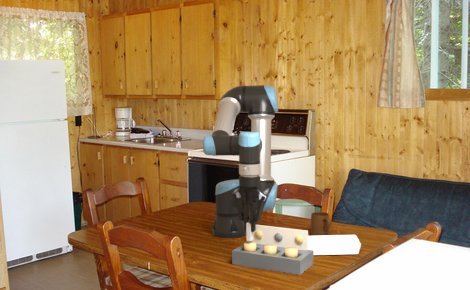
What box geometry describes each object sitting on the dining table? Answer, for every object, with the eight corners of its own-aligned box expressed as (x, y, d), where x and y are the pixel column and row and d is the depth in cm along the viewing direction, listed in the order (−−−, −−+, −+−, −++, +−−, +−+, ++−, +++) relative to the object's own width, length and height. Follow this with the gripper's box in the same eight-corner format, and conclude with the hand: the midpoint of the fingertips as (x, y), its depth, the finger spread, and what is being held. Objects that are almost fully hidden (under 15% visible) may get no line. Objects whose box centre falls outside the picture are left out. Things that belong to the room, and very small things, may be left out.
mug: (337, 239, 224) (338, 217, 223) (322, 241, 222) (322, 218, 221) (323, 232, 235) (323, 211, 235) (307, 234, 233) (307, 212, 232)
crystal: (301, 248, 199) (365, 246, 200) (298, 234, 205) (360, 233, 206) (299, 262, 203) (362, 260, 204) (296, 248, 209) (357, 246, 210)
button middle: (262, 257, 190) (262, 246, 189) (267, 254, 194) (267, 243, 193) (273, 259, 188) (273, 248, 187) (278, 256, 192) (278, 245, 191)
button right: (283, 260, 186) (283, 249, 186) (287, 257, 190) (287, 246, 189) (295, 262, 184) (294, 251, 183) (299, 259, 188) (299, 247, 187)
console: (232, 264, 193) (231, 231, 192) (248, 254, 204) (248, 223, 203) (300, 275, 181) (300, 240, 180) (313, 264, 192) (313, 231, 191)
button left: (242, 254, 193) (241, 243, 193) (247, 251, 197) (247, 240, 197) (252, 256, 191) (252, 245, 191) (258, 253, 195) (258, 242, 195)
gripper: (228, 175, 191) (229, 240, 194) (261, 178, 185) (262, 245, 187) (238, 172, 198) (238, 235, 200) (270, 175, 192) (270, 239, 194)
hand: (250, 240), depth 194 cm, fingers closed
